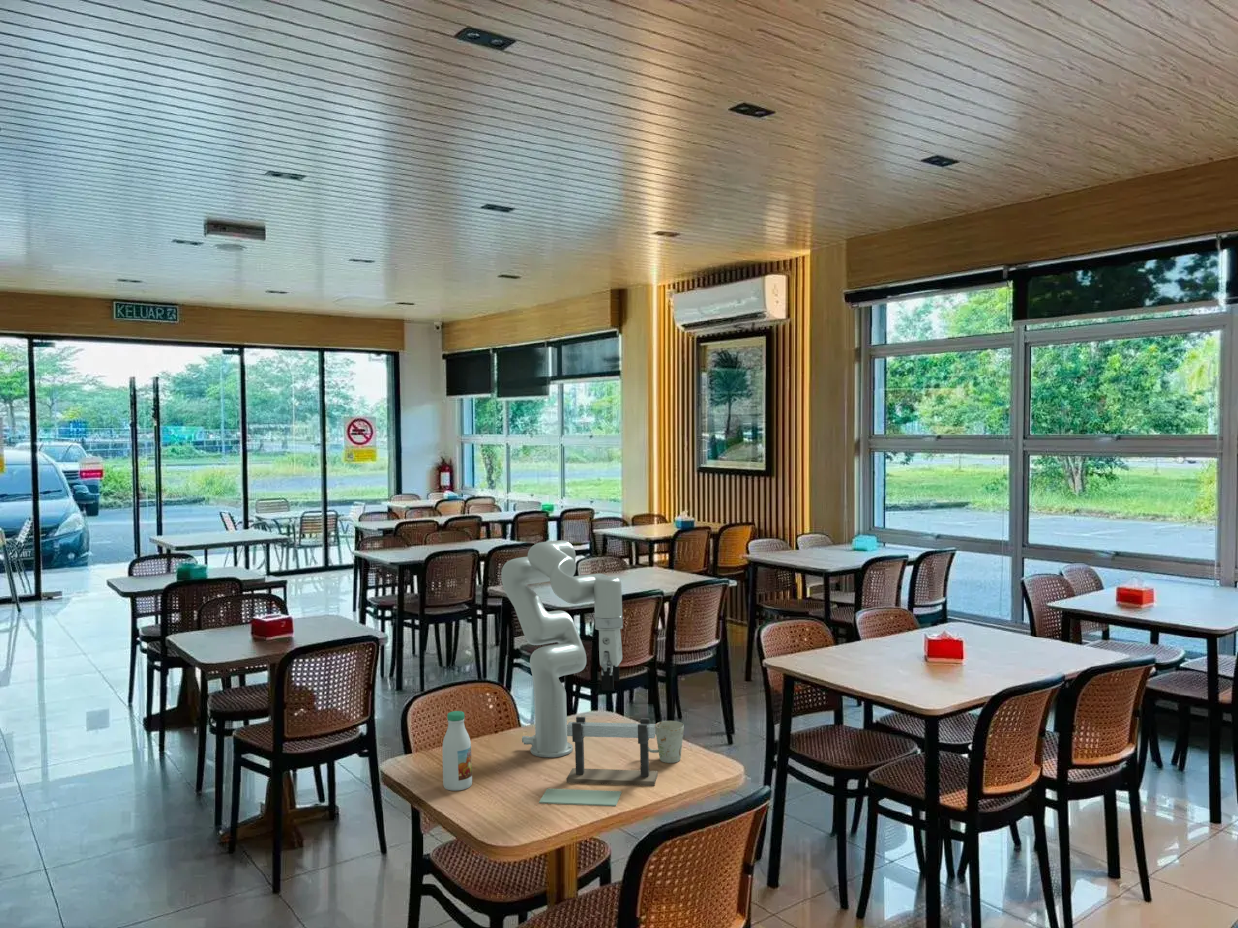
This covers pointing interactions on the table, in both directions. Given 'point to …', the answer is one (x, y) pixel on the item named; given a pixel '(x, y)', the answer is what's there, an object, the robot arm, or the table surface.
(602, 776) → the hook stand
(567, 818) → the table surface
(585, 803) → the mat
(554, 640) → the robot arm
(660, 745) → the mug
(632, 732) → the rail
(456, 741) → the milk bottle
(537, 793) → the table surface
